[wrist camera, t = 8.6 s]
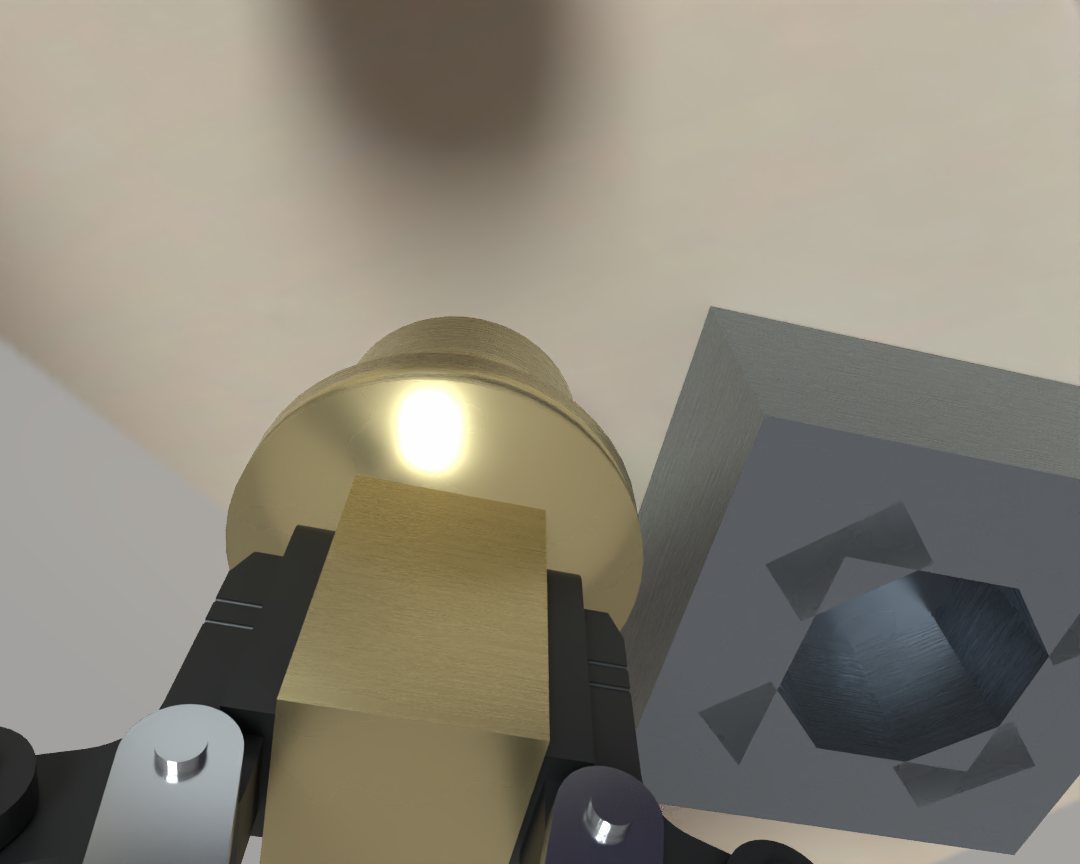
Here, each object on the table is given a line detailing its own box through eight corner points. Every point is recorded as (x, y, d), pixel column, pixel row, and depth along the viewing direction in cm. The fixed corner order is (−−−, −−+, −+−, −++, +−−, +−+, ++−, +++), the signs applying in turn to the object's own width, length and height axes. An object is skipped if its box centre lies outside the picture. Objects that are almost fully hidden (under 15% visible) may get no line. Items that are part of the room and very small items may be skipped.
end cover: (287, 524, 19) (105, 935, 11) (314, 239, 16) (86, 525, 8) (574, 575, 20) (602, 995, 12) (657, 313, 17) (771, 644, 9)
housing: (595, 638, 28) (609, 796, 23) (710, 306, 22) (765, 415, 17) (928, 694, 29) (1014, 854, 24) (1119, 395, 23) (1286, 521, 18)
